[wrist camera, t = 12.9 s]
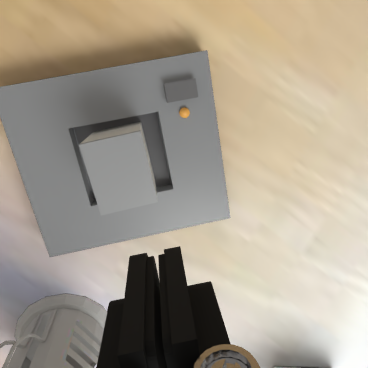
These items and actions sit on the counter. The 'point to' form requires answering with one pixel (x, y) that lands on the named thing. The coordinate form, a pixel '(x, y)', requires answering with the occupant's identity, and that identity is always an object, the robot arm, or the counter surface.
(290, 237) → the counter surface
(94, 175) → the plug
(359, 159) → the counter surface
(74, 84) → the socket plate
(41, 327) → the french press
